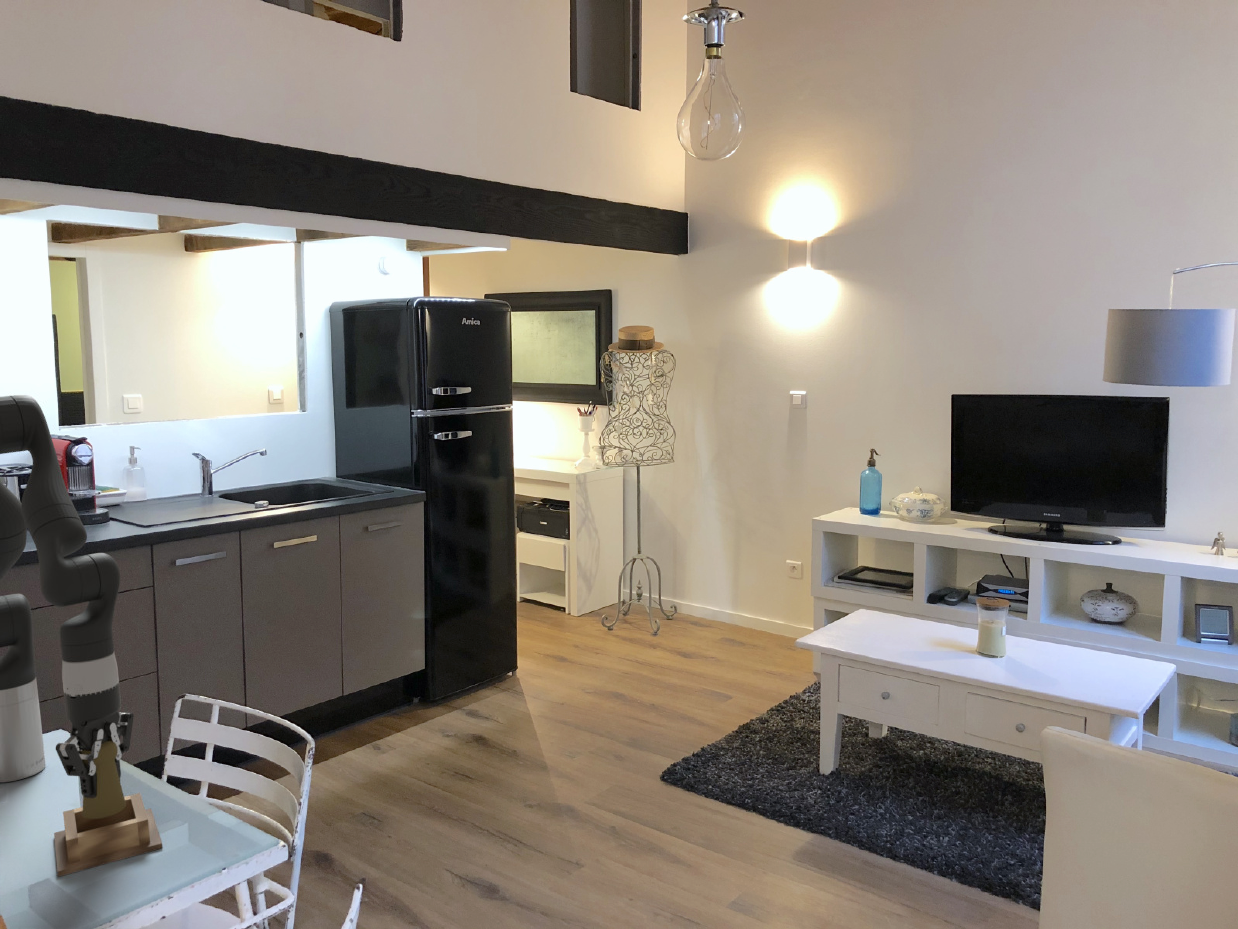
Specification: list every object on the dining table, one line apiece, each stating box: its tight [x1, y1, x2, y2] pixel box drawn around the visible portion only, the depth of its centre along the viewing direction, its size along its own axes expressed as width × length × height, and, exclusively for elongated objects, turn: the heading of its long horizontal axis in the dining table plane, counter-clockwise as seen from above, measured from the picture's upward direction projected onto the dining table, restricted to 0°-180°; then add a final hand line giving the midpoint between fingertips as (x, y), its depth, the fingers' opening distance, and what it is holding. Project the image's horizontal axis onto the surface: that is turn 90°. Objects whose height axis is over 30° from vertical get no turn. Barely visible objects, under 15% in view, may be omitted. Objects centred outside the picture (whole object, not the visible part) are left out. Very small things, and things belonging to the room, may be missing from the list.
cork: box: [82, 741, 126, 819], centre depth 149 cm, size 6×6×11 cm
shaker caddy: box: [53, 792, 163, 877], centre depth 150 cm, size 14×14×4 cm
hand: (102, 789), depth 149 cm, fingers closed on cork, 4 cm apart
